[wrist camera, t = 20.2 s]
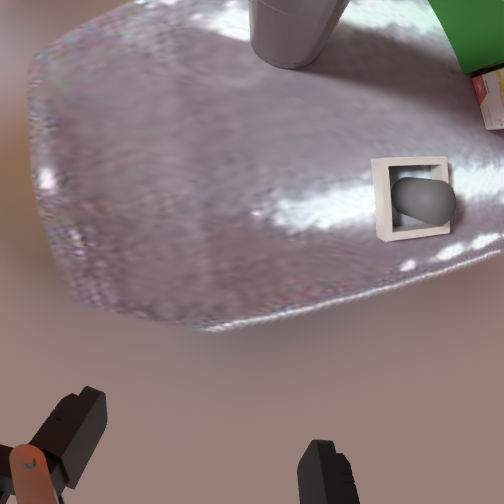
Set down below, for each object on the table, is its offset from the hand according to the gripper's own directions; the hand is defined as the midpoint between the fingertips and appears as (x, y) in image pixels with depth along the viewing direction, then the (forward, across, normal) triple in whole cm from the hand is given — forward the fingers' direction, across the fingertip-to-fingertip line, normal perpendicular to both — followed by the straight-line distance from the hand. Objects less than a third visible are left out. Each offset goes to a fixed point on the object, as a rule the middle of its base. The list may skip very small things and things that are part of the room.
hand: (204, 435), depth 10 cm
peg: (+30, -19, -12) cm, 37 cm away
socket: (+30, -19, -12) cm, 37 cm away
